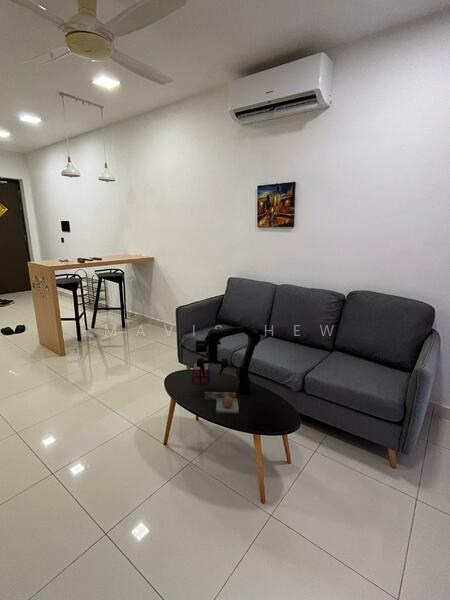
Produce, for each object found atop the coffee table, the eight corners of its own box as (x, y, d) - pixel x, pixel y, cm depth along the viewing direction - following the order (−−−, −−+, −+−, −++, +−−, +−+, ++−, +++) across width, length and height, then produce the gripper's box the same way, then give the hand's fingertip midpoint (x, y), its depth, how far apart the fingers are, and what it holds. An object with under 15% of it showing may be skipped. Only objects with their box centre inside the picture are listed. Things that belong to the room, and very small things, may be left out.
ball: (232, 403, 171) (233, 393, 170) (232, 409, 165) (233, 399, 164) (221, 402, 171) (222, 393, 169) (221, 408, 165) (222, 399, 164)
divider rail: (235, 398, 176) (235, 392, 176) (235, 399, 175) (235, 393, 174) (205, 398, 176) (205, 391, 175) (204, 399, 175) (204, 393, 174)
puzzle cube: (207, 384, 193) (208, 370, 190) (192, 383, 193) (192, 369, 191) (209, 377, 202) (209, 363, 200) (194, 376, 202) (194, 362, 200)
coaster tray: (237, 401, 174) (237, 398, 174) (238, 413, 162) (238, 410, 162) (216, 400, 174) (216, 398, 173) (216, 412, 162) (216, 410, 162)
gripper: (228, 346, 183) (227, 370, 186) (198, 345, 183) (198, 369, 186) (228, 353, 172) (228, 378, 175) (196, 352, 172) (196, 377, 175)
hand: (212, 375), depth 178 cm, fingers open, 9 cm apart
